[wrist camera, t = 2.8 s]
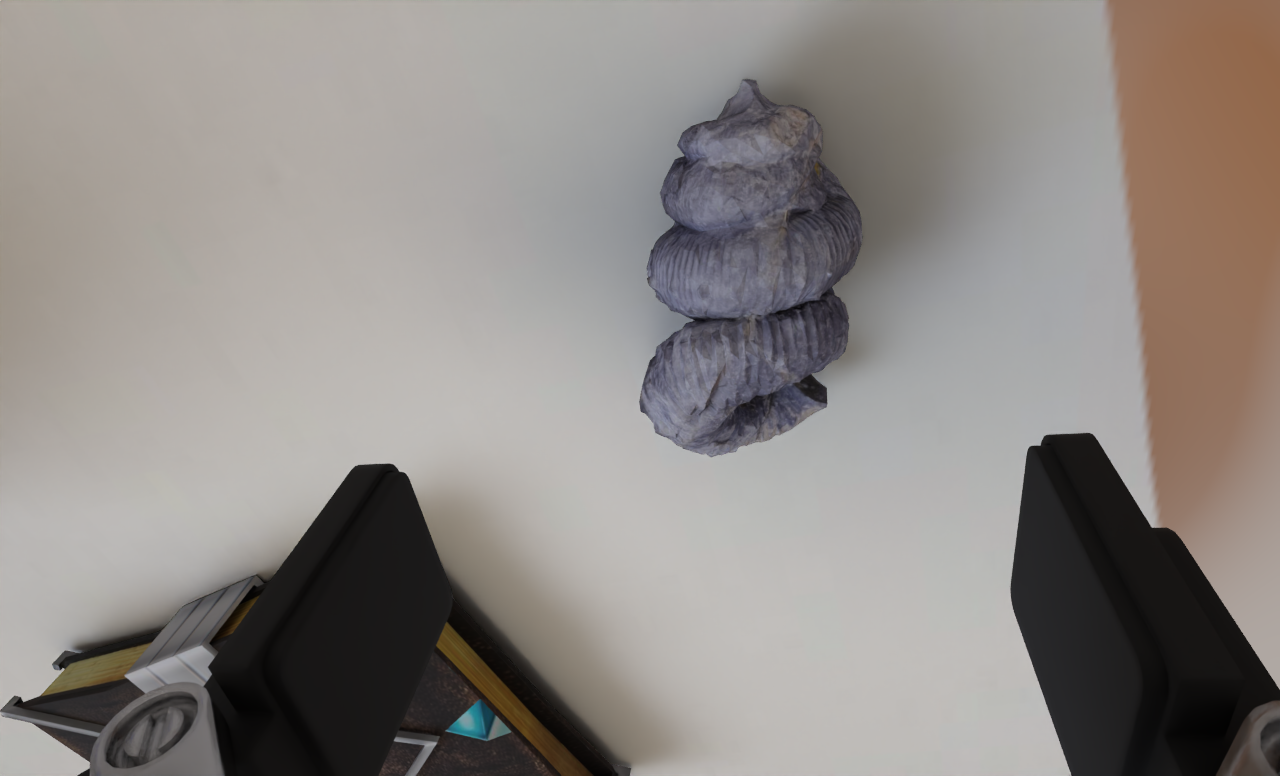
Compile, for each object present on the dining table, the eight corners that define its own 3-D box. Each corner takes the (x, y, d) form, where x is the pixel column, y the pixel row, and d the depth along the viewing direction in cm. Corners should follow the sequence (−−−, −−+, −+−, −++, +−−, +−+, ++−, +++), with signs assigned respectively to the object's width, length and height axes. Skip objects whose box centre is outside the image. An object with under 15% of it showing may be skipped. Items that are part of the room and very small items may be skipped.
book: (302, 843, 43) (250, 946, 39) (57, 647, 36) (-37, 744, 32) (636, 769, 35) (616, 888, 30) (397, 498, 28) (330, 602, 24)
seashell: (763, 391, 25) (759, 56, 20) (887, 469, 21) (918, 70, 16) (617, 447, 23) (573, 89, 18) (721, 546, 19) (700, 114, 14)
